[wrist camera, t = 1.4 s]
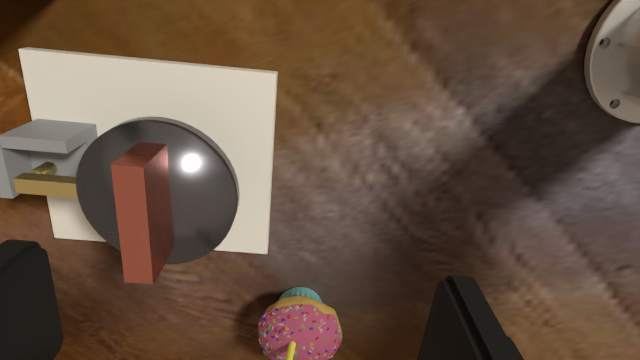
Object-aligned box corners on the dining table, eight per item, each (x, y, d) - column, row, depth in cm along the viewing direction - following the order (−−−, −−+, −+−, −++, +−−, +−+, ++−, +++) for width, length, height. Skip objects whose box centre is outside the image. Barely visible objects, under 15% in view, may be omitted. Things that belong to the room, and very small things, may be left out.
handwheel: (246, 114, 33) (224, 151, 25) (243, 241, 38) (223, 305, 30) (32, 95, 32) (-60, 127, 24) (57, 226, 37) (-14, 289, 29)
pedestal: (277, 71, 36) (270, 85, 30) (268, 247, 43) (260, 285, 37) (21, 46, 35) (-37, 56, 29) (56, 231, 42) (15, 267, 36)
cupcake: (247, 294, 45) (225, 389, 34) (311, 258, 43) (309, 346, 32) (292, 343, 48) (284, 445, 37) (354, 311, 46) (365, 409, 35)
